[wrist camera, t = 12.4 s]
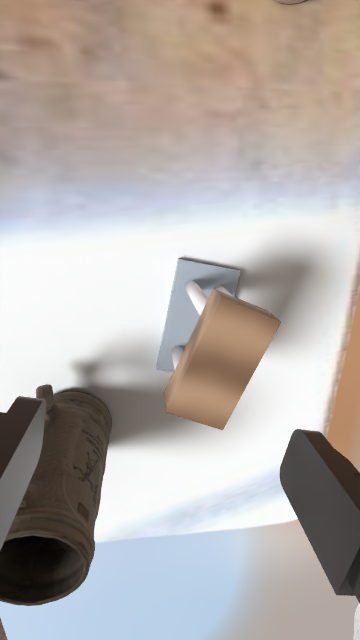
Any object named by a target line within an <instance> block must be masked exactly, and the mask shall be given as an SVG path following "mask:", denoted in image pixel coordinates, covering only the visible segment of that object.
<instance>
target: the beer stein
mask: <svg viewBox="0 0 360 640" xmlns="http://www.w3.org/2000/svg"><path fill="white" fill-rule="evenodd" d="M36 398H38V399H45V400H46V411H45V422H44V432H43V443H42V449H41V453H40V457H39V460H38V463H37V466H36V468H35V471H34V473H33V475H32V478H31V480H30V482H29V485H28V487H27V489H26V492H25V494H24V496H23V499H22V501H21V503H20V506H19V508H18V511H17V513H16V515H15V518H14V520H13V522H12V525H11V527H10V529H9V532H8V534H7V536H6V539H5V541H4V543H3V546H2V548H1V550H0V601H2V602H6V603H10V604H15V605H26V606H32V605H42V604H45V603H48V602H52V601H56V600H59V599H61V598H63V597H66V596H67V595H69V594H70V593H72V592H73V591H75V590H76V589H77V588H78V587H79V586H80V585H81V584H82V583H83V582H84V580H85V579H86V577H87V575H88V571H89V567H90V564H91V562H92V559H93V556H94V551H95V541H94V526H95V520H96V518H97V515H98V510H99V504H100V498H101V487H102V480H103V475H104V471H105V462H106V455H107V448H108V443H109V434H110V432H111V425H112V422H111V417H110V414H109V411H108V410H107V408H106V407H105V405H104V404H103V403H102V402H101V401H99V400H98V399H96V398H95V397H93V396H91V395H89V394H86V393H81V392H64V393H59V394H56V395H53V390H52V386H51V385H43V386H39V387H38V388H37V389H36Z"/></svg>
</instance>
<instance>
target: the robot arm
mask: <svg viewBox="0 0 360 640" xmlns="http://www.w3.org/2000/svg"><path fill="white" fill-rule="evenodd" d="M275 1H277V2H279V3H284V4H296V3H300V2H303V1H305V0H275ZM45 411H46V400H45V399H38V398H29V397H21V396H19V397H17V399H16V400H15V401H14V403H13V404H12V406H11V407H10V409H9V410H8V411H7V413H2V412H0V550H1V548H2V546H3V543H4V541H5V539H6V536H7V534H8V532H9V529H10V527H11V525H12V522H13V520H14V518H15V515H16V513H17V511H18V508H19V506H20V503H21V501H22V499H23V496H24V494H25V492H26V489H27V487H28V485H29V482H30V480H31V478H32V475H33V473H34V471H35V468H36V466H37V463H38V460H39V457H40V453H41V449H42V443H43V432H44V422H45ZM280 481H281V485H282V487H283V489H284V491H285V493H286V495H287V497H288V499H289V501H290V503H291V505H292V507H293V509H294V511H295V513H296V515H297V517H298V519H299V521H300V523H301V525H302V527H303V529H304V531H305V533H306V535H307V537H308V539H309V541H310V543H311V545H312V547H313V549H314V551H315V553H316V555H317V557H318V559H319V561H320V563H321V565H322V567H323V569H324V571H325V573H326V575H327V577H328V579H329V581H330V583H331V585H332V587H333V589H334V591H335V593H336V595H351V596H356V597H357V599H358V601H359V605H358V606H357V609H356V611H355V619H354V637H353V640H360V473H359V472H358V470H357V469H356V468H355V467H354V466H353V464H352V463H351V462H350V461H349V460H348V459H346V458H345V457H344V456H343V455H342V454H340V453H339V452H338V451H337V450H335V449H334V448H333V447H332V446H331V444H330V443H329V442H328V441H327V439H326V438H325V437H324V436H323V434H322V433H320V432H318V431H309V430H301V429H297V430H295V431H294V432H293V434H292V436H291V439H290V441H289V444H288V447H287V450H286V453H285V455H284V458H283V461H282V464H281V467H280ZM0 640H7V637H6V634H5V631H4V628H3V625H2V622H1V619H0Z"/></svg>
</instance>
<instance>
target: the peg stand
mask: <svg viewBox="0 0 360 640" xmlns="http://www.w3.org/2000/svg"><path fill="white" fill-rule="evenodd" d="M240 274H241V271H239V270H235V269H230V268H225V267H220V266H215V265H209V264H204V263H199V262H194V261H189V260H184V259H178V262H177V267H176V272H175V277H174V282H173V287H172V292H171V297H170V302H169V307H168V312H167V317H166V322H165V327H164V332H163V337H162V342H161V347H160V352H159V357H158V362H157V369H158V370H165V371H172V372H174V371H175V369H176V366H177V364H178V362H179V360H180V358H181V356H182V354H183V351H184V349H185V347H186V345H187V343H188V341H189V339H190V337H191V334H192V332H193V330H194V328H195V326H196V324H197V322H198V319H199V317H200V315H201V313H202V311H203V309H204V307H205V304H206V302H207V300H208V298H209V296H210V294H211V292H212V289H213V288H214V289H216V290H219V291H221V292H223V293H226V294H228V295H231V296H233V297H235V293H236V289H237V285H238V281H239V277H240Z"/></svg>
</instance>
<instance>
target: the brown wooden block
mask: <svg viewBox="0 0 360 640" xmlns="http://www.w3.org/2000/svg"><path fill="white" fill-rule="evenodd" d="M280 323H281V322H280V321H279V320H278V319H277V318H275V317H274V316H273V315H272V314H270V313H269V312H268V311H266V310H264V309H262V308H259V307H257V306H254V305H252V304H250V303H247V302H245V301H242V300H240V299H238V298H235V297H233V296H231V295H228V294H226V293H223V292H221V291H219V290H216V289H214V288H213V289H212V292H211V294H210V296H209V298H208V300H207V302H206V304H205V307H204V309H203V311H202V313H201V315H200V317H199V319H198V322H197V324H196V326H195V328H194V330H193V332H192V334H191V337H190V339H189V341H188V343H187V345H186V347H185V349H184V351H183V354H182V356H181V358H180V360H179V362H178V364H177V366H176V369H175V371H174V373H173V375H172V377H171V379H170V381H169V384H168V386H167V388H166V390H165V392H164V396H165V405H166V412H167V413H170V414H173V415H176V416H179V417H182V418H186V419H189V420H192V421H195V422H198V423H201V424H205V425H208V426H211V427H214V428H217V429H221V430H223V429H224V427H225V425H226V423H227V421H228V419H229V418H230V416H231V414H232V412H233V410H234V408H235V407H236V405H237V403H238V401H239V399H240V397H241V395H242V394H243V392H244V390H245V388H246V386H247V384H248V382H249V381H250V379H251V377H252V375H253V373H254V371H255V370H256V368H257V366H258V364H259V362H260V360H261V358H262V357H263V355H264V353H265V351H266V349H267V347H268V346H269V344H270V342H271V340H272V338H273V336H274V334H275V333H276V331H277V329H278V327H279V325H280Z"/></svg>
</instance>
